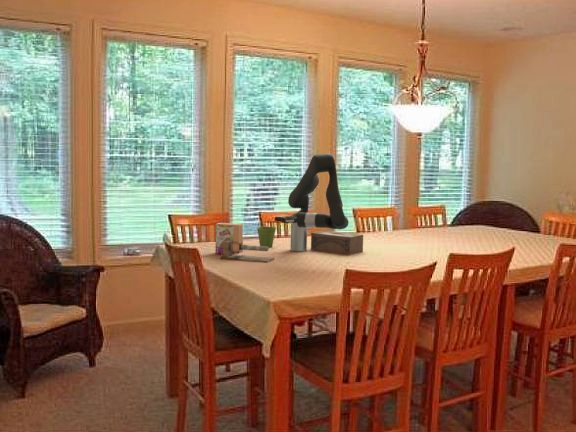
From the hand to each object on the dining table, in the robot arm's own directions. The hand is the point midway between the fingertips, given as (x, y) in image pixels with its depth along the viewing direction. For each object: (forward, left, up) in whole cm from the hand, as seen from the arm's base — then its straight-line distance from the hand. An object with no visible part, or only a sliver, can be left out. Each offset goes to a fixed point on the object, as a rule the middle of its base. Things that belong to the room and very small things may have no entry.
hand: (275, 218), depth 316 cm
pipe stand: (0, -15, -22) cm, 26 cm away
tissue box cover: (-47, +21, -22) cm, 56 cm away
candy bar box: (-10, -31, -22) cm, 39 cm away
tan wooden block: (0, -20, -19) cm, 27 cm away
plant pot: (-42, -20, -22) cm, 51 cm away
